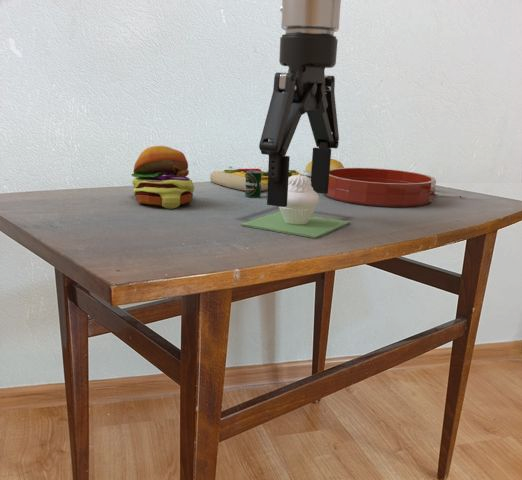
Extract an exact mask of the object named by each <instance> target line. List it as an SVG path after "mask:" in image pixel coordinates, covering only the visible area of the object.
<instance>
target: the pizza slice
mask: <svg viewBox="0 0 522 480" xmlns="http://www.w3.org/2000/svg"><path fill="white" fill-rule="evenodd" d="M250 170H254V171H260V172H261V192H264V191H268V170H267V171H264V170H263V171H262V169H261V168H237V169H224V170H223V171H221V170H214V171H212V172H211V173H210V175H209V180H210V182H212V183H214V184H216V185H220V186H222V187H226V188H229V189H233V190H239V191H244V192H245V185H246V173H247V171H250ZM298 174H300V175H302V176H305V174H302V173H300V172H299V171H296V170H295V169H289V177H291V176H294V175H298Z"/></svg>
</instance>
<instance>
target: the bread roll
mask: <svg viewBox="0 0 522 480" xmlns="http://www.w3.org/2000/svg"><path fill="white" fill-rule="evenodd" d="M337 168H345V166H344V164H343V163H342V162H341V161H340V160H337V159H333V158H331V161H330V169H337ZM311 169H312V160H311V161H310V162H308V163H307V164H306V166H305V167H304V171H303V172H304V174H306V177H308V178H309V179H311Z"/></svg>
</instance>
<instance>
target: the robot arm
mask: <svg viewBox="0 0 522 480" xmlns="http://www.w3.org/2000/svg"><path fill="white" fill-rule="evenodd" d="M341 3H342V0H281V5H280V8H279V10H280V11H279V12H281V22H280V23H281V24H280V25H281V26H280V27H281V29H282V30H283V31H285V33H284V34H282V35H281V37H280V38H279V58H278V59H279V60H278V61H279V64H280V65H281V66H283V67H288V71H287V72H275V73H274V77H273V90H272V95H271V98H270V101H269V105H268V109H267V114H266V117H265V121H264V125H263V129H262V133H261V136H260V139H259V143H258V148H259V151H260V154H261V155H266V156H268V164H267V165H268V166H267V167H268V168H267V171H268V190H266V193H267V194H266V205H267V206H274V207H279V206H280V207H287V197H288V178H289V170H290V156H289V155H287V153H288V150H289V148H290V145H291V143H292V140H293V138H294V135H295V132H296V130H297V127H298V125H299V122H300V120H301V117H302V116H303V115H306V114H307V118H308V122H309V125H310V128H311V132H312V135H313V140H314V142H315V146H316V147H313V148H312V155H311V156H312V157H311V161H312V169H311V175H310V176H311V178H310V180H311V186H312V187H313V190H314V191H315V192H316V193H317V194H324V195H325V194H327V193H328V186H329V173H330V161H331V159H332V149H338V148H339V141H340V134H339V124H338V114H337V105H336V96H335V94H336V93H335V86H336V77H335V75H325V69H332V68H334V67H335V66H336V64H337V52H338V41H339V39H337V36H335V33H336V32H338V31H339V30H340V17H341V5H342V4H341Z"/></svg>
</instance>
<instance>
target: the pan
mask: <svg viewBox="0 0 522 480" xmlns="http://www.w3.org/2000/svg"><path fill="white" fill-rule="evenodd" d="M436 183H437V179H436V177H433V176H431V175H429V174H428V175H427V174H424V173H421V172H420V173H419V172H413V171H408V170H398V169H390V168H376V167H344V168H337V169H330V173H329V186H328V193H327V194H324V195H325V197H327V198H330V199H333V200H335V201H339V202H343V203H348V204H355V205H360V206H361V205H362V206H370V207H383V208H387V207H388V208H409V207H411V208H412V207H420V206H424V205H428V204H429V203H431V202H433V201H434V199H435V198H434V197H435V191H436Z"/></svg>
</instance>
